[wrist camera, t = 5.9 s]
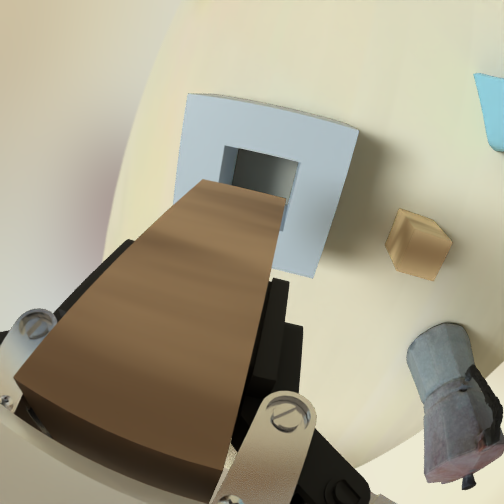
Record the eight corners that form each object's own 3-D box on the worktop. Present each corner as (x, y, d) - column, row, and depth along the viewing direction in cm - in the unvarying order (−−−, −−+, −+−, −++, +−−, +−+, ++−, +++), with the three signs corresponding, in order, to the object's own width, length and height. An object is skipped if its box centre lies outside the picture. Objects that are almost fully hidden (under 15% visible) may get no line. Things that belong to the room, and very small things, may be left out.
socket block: (312, 245, 30) (312, 278, 25) (192, 215, 31) (169, 242, 25) (347, 123, 24) (359, 130, 19) (211, 93, 25) (187, 93, 19)
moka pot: (397, 387, 38) (413, 515, 20) (406, 303, 31) (453, 468, 14) (455, 375, 36) (487, 493, 18) (477, 290, 29) (550, 429, 12)
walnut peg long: (267, 270, 16) (205, 511, 6) (193, 251, 16) (67, 456, 6) (286, 198, 14) (223, 470, 4) (202, 178, 14) (13, 377, 4)
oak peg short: (417, 254, 29) (433, 281, 24) (384, 244, 29) (396, 270, 24) (433, 219, 27) (452, 242, 22) (399, 207, 27) (415, 229, 22)
